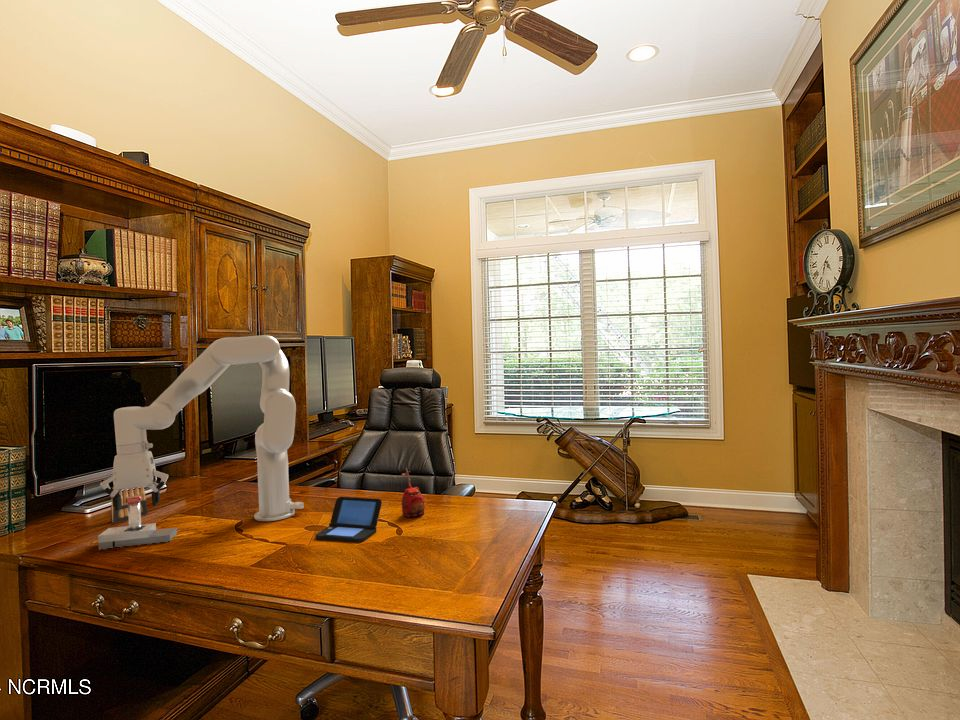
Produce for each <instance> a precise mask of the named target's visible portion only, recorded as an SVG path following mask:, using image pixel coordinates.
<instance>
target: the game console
mask: <svg viewBox="0 0 960 720" xmlns="http://www.w3.org/2000/svg"><path fill="white" fill-rule="evenodd" d="M334 503H335V504H334V506H333V507H334V508H333V511H332V515H331V518H330V522H328V523H329V524H328V526H327V527H326V528H324V529H321V530H320V531H318V532H317V533H316V534H315V539H316V540H324V541H334V542H335V541H337V542H348V543H362V542H364V541H365V540H367V539H368V538H370V537H371V536H372V535H374V534H376V533H377V526H378V522H379V517H380V512H381V508H382V503H383V502H382V499H379V498H372V497H371V498H368V497H355V496H354V497H352V496H351V497H350V496H339V497H337V498H336V500H335V502H334Z"/></svg>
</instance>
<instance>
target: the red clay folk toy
mask: <svg viewBox="0 0 960 720" xmlns="http://www.w3.org/2000/svg"><path fill="white" fill-rule="evenodd" d="M405 470H406V471H405V472H404V473H401V476H402V477H404V476H406V475H407V480H408V487H407V488H405V489H404V492H403V493H402V497H401V512H402V515H403V516H404V517H406V518H408V519H410V518H413V517H417V516H418V517H419V516H423V515H425V507H426V506H425V499H424V495H422V493H421V491H420V489H419V487H418V486H415V487H412V485H411V478H410V474H409V473H411V470H409V471H408V468H407V467H406V468H405Z"/></svg>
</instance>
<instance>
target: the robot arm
mask: <svg viewBox="0 0 960 720" xmlns="http://www.w3.org/2000/svg"><path fill="white" fill-rule="evenodd" d="M245 364H259V366H260V367H261V373H262V376H261V377H262V378H261V379H262V381H261V393H260V400H259V407H260V410H261V412H262V414H264V415H263V422H262V423H261V424H260V425H259V426H258V427H257V429H256V431H255V436H254V444H255V452H256V459H257V461H256V462H257V463H256V464H257V487H258V488H257V489H258V491H257V492H258V509H259V510H258V511H257V512H256V513H254V516H253V517H254V520H256V521H258V522H273V521H280V520H284V519H288V518H290V517H292V516H294V515H295V513H296V510H295V509H298V510H299V509H304V508H305V507H304V502H303V501H295V502H294V501H292V498H290V484H289V483H290V481H289V480H290V479H289V456H288V450H289V449H290V447H291V446H292V445H293V441H294V439H295V438H294V437H295V428H296V417H297V416H296V414H297V413H296V412H297V404H296V400H295V397H294V395H293V394H292V393H291V392H290V374H291V373H290V364H289V361H288V359H287V357H286V355H285V354H284V352H283V351H282V349H281V345H280V343H279V341H278V340H277V338H276V337H274V336H272V335H268V334H262V335H261V334H260V335H251V336H250V335H248V336H240V337H239V336H238V337H237V336H231V337H222V338H219V339H216V340H214V341H213V342H212V343H211V344H210V345H209V346H207V348H205V350H203V352H202V353H200V354H199V356H197V358H195V360H193V361H192V363H190V364H189V366H188V367H187V368H185V370H184V371H182V372H181V373H180V375H179V376H178V377H177V378H176V379H175V380H174V381H173V383H171V384H170V385H169V386H168V387H167V388H166V389H165V390H164V391H163V392H162V393H161V394H160V395H159V396H158V397H157V398H156V399H155V400H154V401H152V403H151V404H150V405H149V406H143V407H142V406H126V407H120V408H117V409H115V410H114V411H113V423H114V433H115V434H114V435H115V445H116V455H115V456H114V459H113V464H112V465H113V466H112V467H113V468H112V476H111V477H108V478H106V479H105V480H103V481H102V482H100V483H99V485H100V487H101V488H102V490H104V491H103V492H105V493H106V494H107V495H109V497H110V498H111V499H112V501H113V507H115V511H117V510H119V509H120V508H122V502H121V495H120V494H119V492H120V491H121V490H122V491H123V490H124V489H127V490H129V489H133V490H134V488H139V489H140V488H141V487H144V488H146V487H148V488H149V489H150V490H151V491H152V492H151V503H152V504H151V506H153V507H155V506H157V505H158V504H159V503H160V502H161V495H160V494H161V493H160V490H161V489H162V488H163V487H164V486H165V484H166V482H167V480H168V478H169V474H168V473H165V472H161V471H159V470H156V464H155V460H154V456H153V453H152V451H151V450H149V449H151V448H153V447H154V444H153V443H152V442H151V443H150V442H149V441H148V439H147V436H148V435H147V430H153V431H154V430H155V431H157V430H164V429H166V428H167V429H168V428H169V427H171V426H172V425H173V423H174V422H175V420H176V416H177V415H178V414H179V412H181V410H182V409H184V407H185V406H186V405H188V404H189V403H190V402H191V401H192V400H194V398H196V397H197V396H199V395H201V394H202V393H204V392H205V391H206V390H208V388H210V387H211V385H213V383H215V382H216V380H217V379H218V378H219V377H220V376H221V375H222V374H223V373H224V372H226V370H227V369H228V368H229V367H230V366H231V365H233V366H234V365H245ZM158 478H160V479H161V480H160V482H159V483H157V479H158ZM110 483H113V486H114V488H115V489H113V487H111V486H110V485H109V484H110Z"/></svg>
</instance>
